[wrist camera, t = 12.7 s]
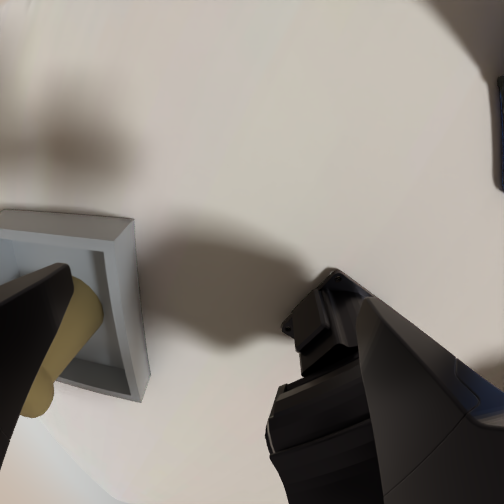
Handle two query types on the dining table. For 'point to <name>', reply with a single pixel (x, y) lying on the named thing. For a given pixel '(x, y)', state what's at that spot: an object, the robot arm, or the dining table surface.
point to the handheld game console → (503, 84)
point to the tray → (98, 279)
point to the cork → (65, 346)
